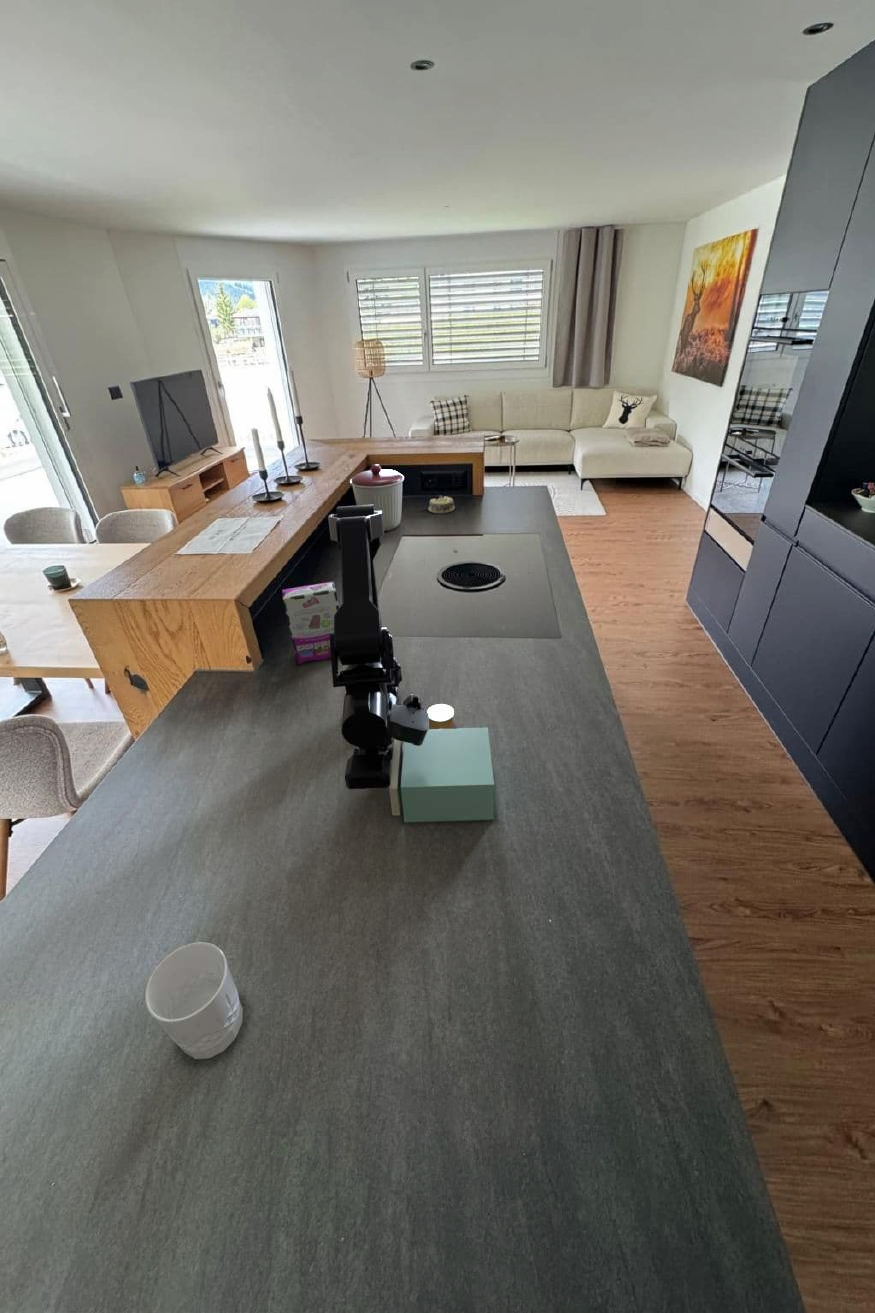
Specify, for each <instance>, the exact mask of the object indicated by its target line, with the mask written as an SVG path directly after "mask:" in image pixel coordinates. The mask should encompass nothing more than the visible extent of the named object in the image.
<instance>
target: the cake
mask: <svg viewBox="0 0 875 1313" xmlns="http://www.w3.org/2000/svg"><path fill="white" fill-rule="evenodd" d="M438 497H439V498H431V499H430V500H429V506H428V508H427V510H428V512H430V513H433V514H448V513H451V512H453V511H454V510H455V509H456V507H455V501H454V499H453V498H452V497H450V496H445V495H444V496H443V495H441V494H440V495H439V496H438Z"/></svg>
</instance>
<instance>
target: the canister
mask: <svg viewBox="0 0 875 1313" xmlns="http://www.w3.org/2000/svg"><path fill="white" fill-rule="evenodd" d="M404 480H405V476H404V475H403V474H401V473H400V472H398V471H396V470H393V469H382V466H381V465H380V464H378V463H377V464H372V465H371V466H370V469H369V470H365V471H361V472H359V473H357V474H355V475H354V476H353V477H351V478H350V479H349V484H350V485H351V486H352V491H353V496H354V499H355V504H356V506H358V505H372V504H374V508H375V510H377V511H382V516H383V526H384V532H386V531H387V532H388V531H391V530H394V529H396V528H397V527H398V526H399V525H400V523H401V521H402V520H401V519H402V508H403V482H404Z"/></svg>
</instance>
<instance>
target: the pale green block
mask: <svg viewBox="0 0 875 1313" xmlns="http://www.w3.org/2000/svg"><path fill="white" fill-rule="evenodd" d="M402 749H403V762H402V775H401V795H402V798H401V805H402V810H403V811H402V812H403V821H404V823H426V822H429V823H430V822H461V821H462V822H463V821H493V820H494V818H495V816H494V814H495V811H494V810H495V780H494V770H493V762H492V755H491V754H492V753H491V745H490V737H489V728H488V727H464V728H453V729H429V728H428V731H427V733H426V736H425V738H424V741H423V743H422V745H420V746H416V745H413V744H412V743H407V742H403V747H402Z"/></svg>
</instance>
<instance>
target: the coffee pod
mask: <svg viewBox="0 0 875 1313" xmlns="http://www.w3.org/2000/svg"><path fill="white" fill-rule="evenodd" d="M426 712H427V713H428V714H429V728H428V730H429V729H454V716H455V710H454V708H453V707H452V706H450V705H448V704H445V703H444V704H443V703H439V704H437V703H436V704H434V705H432V706H430V707H429V708H428V709H427V710H426Z"/></svg>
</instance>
